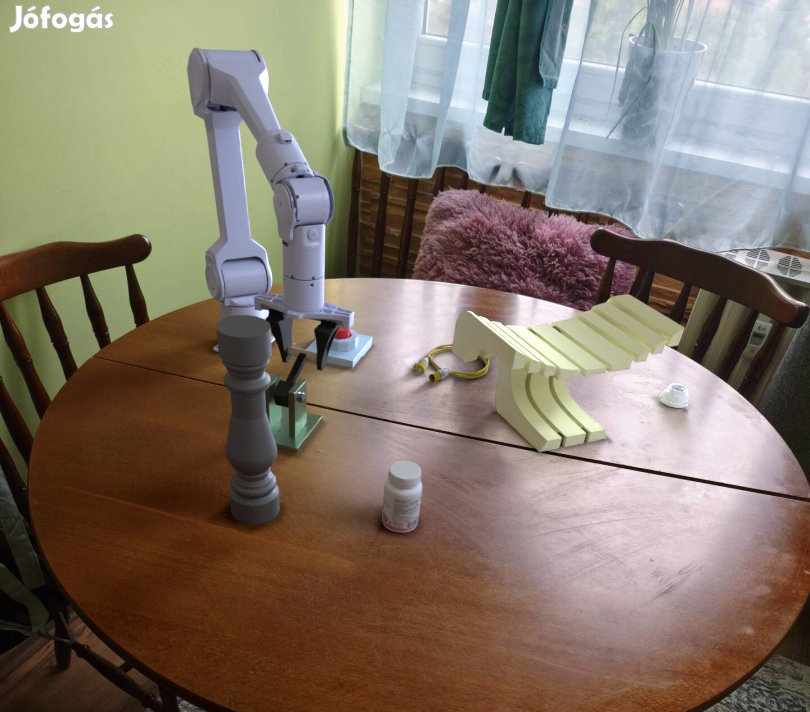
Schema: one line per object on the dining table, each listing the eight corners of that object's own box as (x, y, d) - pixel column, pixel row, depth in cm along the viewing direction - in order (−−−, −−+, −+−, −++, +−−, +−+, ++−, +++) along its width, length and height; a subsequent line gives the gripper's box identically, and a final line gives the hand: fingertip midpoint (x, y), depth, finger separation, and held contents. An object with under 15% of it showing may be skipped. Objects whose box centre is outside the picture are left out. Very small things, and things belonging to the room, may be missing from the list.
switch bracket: (274, 411, 108) (272, 362, 103) (322, 422, 107) (323, 373, 102) (246, 443, 101) (242, 392, 95) (297, 455, 100) (296, 404, 94)
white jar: (666, 392, 126) (653, 401, 123) (671, 378, 124) (659, 386, 121) (691, 403, 123) (679, 412, 120) (697, 389, 121) (685, 397, 118)
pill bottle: (380, 510, 92) (384, 457, 86) (415, 511, 92) (422, 458, 87) (382, 533, 88) (387, 480, 83) (419, 534, 89) (426, 481, 83)
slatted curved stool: (588, 385, 125) (617, 287, 114) (646, 430, 115) (684, 327, 103) (443, 409, 114) (458, 303, 102) (492, 461, 103) (516, 350, 92)
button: (333, 330, 126) (333, 320, 124) (352, 334, 125) (352, 324, 124) (326, 337, 123) (326, 328, 122) (345, 341, 122) (346, 332, 121)
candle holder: (288, 504, 91) (283, 321, 75) (265, 532, 86) (255, 343, 70) (245, 492, 92) (232, 309, 76) (221, 518, 87) (201, 330, 71)
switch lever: (291, 353, 105) (288, 341, 103) (322, 360, 104) (320, 348, 102) (266, 403, 101) (263, 392, 98) (298, 410, 100) (296, 399, 98)
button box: (326, 335, 131) (327, 317, 128) (371, 345, 129) (373, 327, 127) (304, 359, 123) (304, 340, 120) (352, 370, 121) (353, 351, 119)
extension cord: (397, 355, 127) (398, 345, 126) (471, 346, 133) (473, 336, 132) (426, 386, 119) (427, 376, 118) (504, 375, 125) (506, 365, 124)
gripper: (242, 272, 94) (247, 364, 102) (343, 292, 92) (340, 385, 100) (264, 256, 99) (267, 345, 108) (360, 275, 97) (355, 365, 106)
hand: (303, 363), depth 104 cm, fingers closed on switch lever, 5 cm apart
